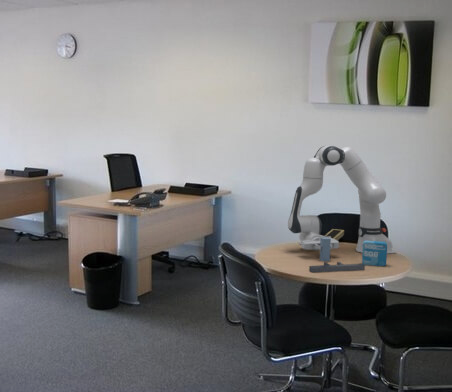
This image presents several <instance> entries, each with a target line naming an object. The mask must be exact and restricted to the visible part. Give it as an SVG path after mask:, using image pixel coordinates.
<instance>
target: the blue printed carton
mask: <svg viewBox="0 0 452 392" xmlns="http://www.w3.org/2000/svg"><path fill="white" fill-rule="evenodd" d="M361 254H362V256H361V264H364V265H365V266H371V267H372V266H374V267H375V266H376V267H385V266H387V257H388V254H387V243H386V242H381V241H367V240H366V241H364V242H363V251H362V253H361Z"/></svg>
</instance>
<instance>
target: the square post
mask: <svg viewBox="0 0 452 392" xmlns="http://www.w3.org/2000/svg"><path fill="white" fill-rule="evenodd" d="M330 244H331V239H330V238H328V237H322V238H320V246H322V249H321V250H319V260H320V261H321V262H322V263H325V262H326V263H327V262H330V260H331V249H330Z"/></svg>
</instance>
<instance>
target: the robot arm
mask: <svg viewBox="0 0 452 392" xmlns="http://www.w3.org/2000/svg"><path fill="white" fill-rule="evenodd" d="M304 163H305V164H304V166H303V174H302V181H301V184H300V185H299V186H298V187H296V190H295V193H294V197H293V201H292V207H291V211H290V215H289V218H288V221H287V228H288V229H289V231H290V232H291V233H292V234H298V235H299V236H298V238H299V240H300V242H298V245H300V246H301V249H303V250H312V251H314V252H317V251H320V250H321V249H322V246H320V238H322V237H328V238H330V239H331V244H330V250H332V249H333V250H334V249H339V248H340V242H339V240H338V241H337V240H335V239H333V238H331V237H330V236H325V235H322V234H321V232H322V229H323V223H322V221H321V219H320V217H319V216H318V215H316V214H313V215H312V214H311V215H310V214H306V215H303V214H302V215H301V214H300V213H301V210H302V209H301V208H302V206H303V202H304V200H305V199H306V198H308V197H309V196H312V195H314V194H317V193H318V192H319V191H320V190H321V189H322V187H323V185H324V171H325V169H326V167H328V166H336V165H340V166H341V167H342V169H343V170H344V172H345V174H346V175H347V177H348V178H349V180H350V181H351V183H352V184H353V185H354V186H355V187H356V188H357V192H358V200H359V201H358V202H359V211H360V215H359V226H358V240H357V245H356V248H355V251H356V252H359V253H361V254H362V251H363V242H364V241H366V240H367V241H381V242H386V243H387V255H388V254H396V253H397V250H396V249H395V248H393V243H392V241H391V239H390V238H388V237H387V236H386V235H385V234H383V233H386V231H387V229H386V228H384V227H381V216H382V215H381V214H382V213H381V209H380V206H379V205H380V204H382V203H383V202H384V201H385V200H386V198H387V192H386V190H385V188H384V187H383V186H382V184H381V183H380V182H379V181H378V180H377V178H376V177H375V176H374V175H373V174H372V172H371V171H370V170H369V168H368V167H367V165H366V164H365V163H364V161H363V159H362V158H361V157H360V156H359V154H358V153H357V152H356V151H355V150H354V148H352V147H351V146H345V147H342V148H339V147H337V146H334V145H323V146H321V147H320V148H319V149H318V150H317V151H316V153H315V155H314V156H313V157H309V158H308V159H306V160H305V162H304Z"/></svg>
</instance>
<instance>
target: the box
mask: <svg viewBox="0 0 452 392" xmlns="http://www.w3.org/2000/svg"><path fill="white" fill-rule="evenodd" d="M324 236H330V237H331V238H333V239H335V240H337V241H339V240H340V239H341V238H342V237H343V236H345V230H344V229H337V228H335V229H334V228H331V230H330V231H328V232H327V233H325V235H324Z"/></svg>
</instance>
